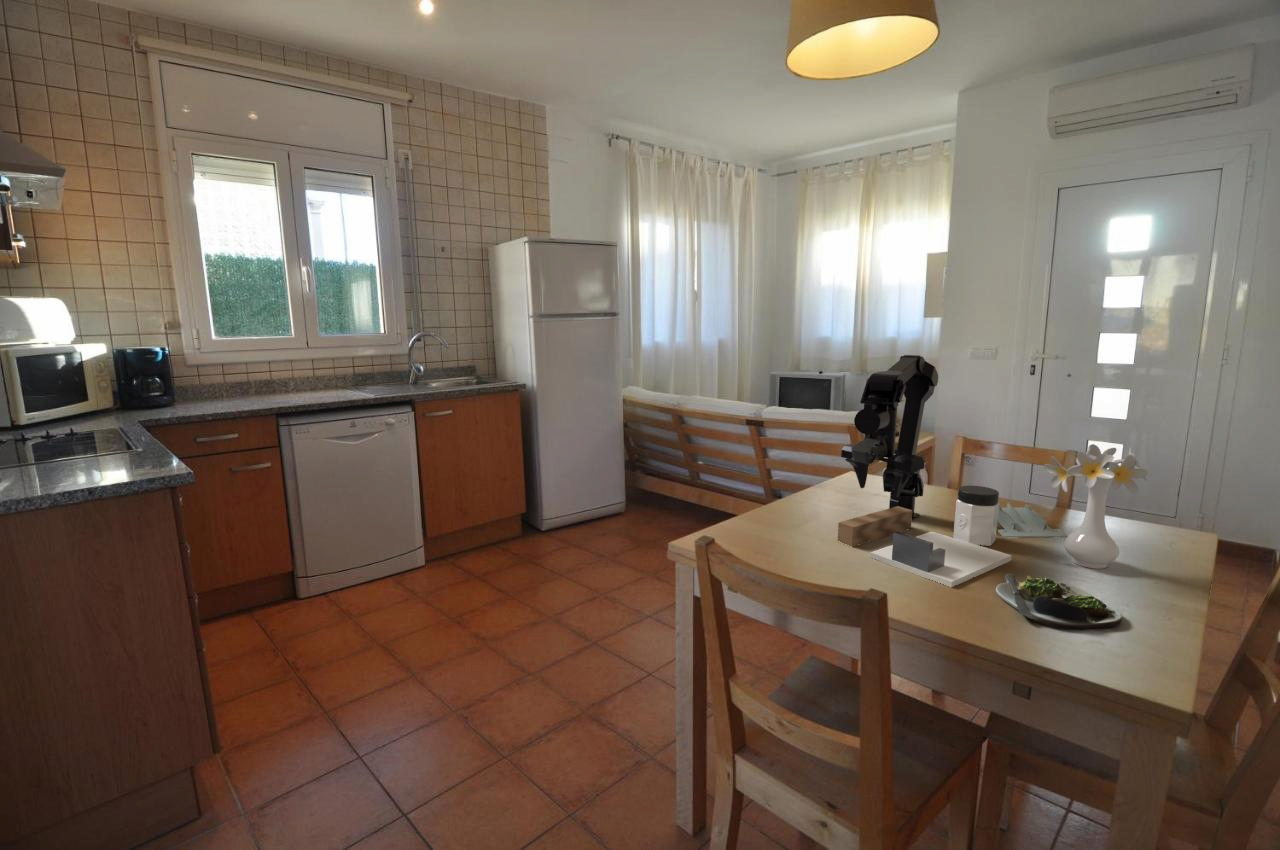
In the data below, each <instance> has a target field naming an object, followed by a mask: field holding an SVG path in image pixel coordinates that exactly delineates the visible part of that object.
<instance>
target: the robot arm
mask: <svg viewBox="0 0 1280 850" xmlns="http://www.w3.org/2000/svg"><path fill="white" fill-rule="evenodd" d="M938 382H939V373H938V372H937V368H936V367H935V366H934V365H933V364H931V363H929V362H928V361H926V360H925V358H924V356H922V355H919V354H918V355H916V354H915V355H914V354H904V355H901V356H900V357H899V360H898V361H896V363H894V364H893V365H892V366H891V367H890V368H888V369H887V370H882V371H876V372H874V373H871V374H870V375H869V377H868V378H867V379H866V383H865V386H864V388H863V393H862V395H861V398H860V404H862V405H863V408H862V409H860V410H859V411H857V412H856V414H855V416H854V420H853V421H854V426H855V428H856V430H857V431H858V432H860V433H861V434H864V438H863V440H861V441H858V443H855V442H854V443H852V444H845V445H843V446H842V448H841V451H840V457H841V458H844V461H846V462H848V463H849V464H850V465H851V466H852V468H853V469H854V472H855V475H856V478H857V481H858V485H859V488H860V489H864V488H865V487H866V484H867V478H868V473H869V467H870V465H871V464H873V463H874V462H875V461H880V462H884V463H886V468H885V469H884V471H883V474H882V483H883V492H884V493H890V495H889V496H890V497H889V505H888V509H889V508H893V507H897V506H899V507H903V508H906V509H910V510H912V519H914V518H917V517H920V513H917V512H915V510H916V509H915V507H916V498H918V497H924V490H925V489H924V487H925V486H924V485H925V484H924V483H923V479H922V478H923V477H922V475H921V474H920V473H921V470H924V469H925V459H924V458H923V456H921V455H917V449H918V442H919V439H920V433H921V425H922V420H923V414H924V410H925V405H926V402H927V401H928V400H929V399H930V398H931V397H932V396H933V395H934V392H935V388H936V387H937V385H938ZM903 396H904V398H905V401H904V409H903V411H902V412H903V414H902V418H901V424H900V429H899V430H900V431H897V416H898V407H899V403H901V401H902V399H903ZM897 437H898V440H897V448H896V438H897Z"/></svg>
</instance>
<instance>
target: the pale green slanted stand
mask: <svg viewBox="0 0 1280 850" xmlns="http://www.w3.org/2000/svg"><path fill="white" fill-rule="evenodd" d="M997 523H999V525H1000V526H1001V527H1002V528H1003V529H1001V528H1000V529H997V532H998V533H999V535H1000V536H1002V538H1004V539H1019V538H1021V537H1022V538H1025V539H1027V538H1026V537H1030V539H1031V537H1054V539H1066V538H1067V537H1068V536H1069V535H1068V534H1067V533H1066V532H1065V531H1064V530H1063V529H1061V528H1058V529H1057V528H1052V527H1050V526H1049V525H1048V521H1046V519H1044V518H1043V517H1042V516H1041V514H1039V513H1038V512H1036V511H1035V510H1034V509H1032V506H1031V505H1030V504H1025V505H1024V507H1022V506H1021V507H1012V505H1011V504H1010V503H1009V502H1008V503H1007V504H1006V507H1002V506H1001V504H999V509H998V519H997ZM1055 537H1057V538H1055ZM1059 537H1060V538H1059ZM1022 538H1021V539H1022Z"/></svg>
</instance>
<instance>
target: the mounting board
mask: <svg viewBox="0 0 1280 850" xmlns="http://www.w3.org/2000/svg"><path fill="white" fill-rule="evenodd" d="M915 537H917V538H920V539H923V540H926V541H929V542H933V550H936V549H938V548H942V549H945V561H944V566H943V567H940V568H938V569H935V570H933V571H931V572H928V573H927V572H924V571H922V570H919V569H916V568H913V567H911V566H908V565H905V564H902V563H900V562H897V561H894V560H892V549H893V544H892V545H888V546H885V547H883V548H880V549H876V550H874V551H871V552H870V557H869V558H870V559H872V558H873V559H872V560H875V559H876V561H877V562H881V563H883V564H886V565H889V566H892V567H895V568H897V569H900V570H903V571H905V572H907V573H910V574H913V575H916V576H918V577H922V578H924V579H926V578H927V580H929V579H930V581H932V580H933V581H932V582H935V581H936V582H935V583H937V582H938V584H940V583H941V584H940V585H943V584H944V585H943V586H945V585H946V587H948V586H949V588H954V587H956V586H958V585H960V584H963V583H965V582H968V581H970V580H972V579H974V578H976V577H978V576H981V575H982V574H985V573H987V572H989V571H991V570H993V569H996V568H998V567H1000V566H1004V564H1007V563H1009V562H1011V561H1012V555H1011V554H1008V553H1005V552H1002V551H999V550H995V549H991V548H988V547H986V546H980V545H975V544H972V543H969V542H965V541H962V540H959V539H955V538H953V536H952V537H951V536H948V535H945V534H941V533H938V532H935V531H932V530H931V531H929V532H926V533H923V534H920V535H917V536H915ZM973 577H974V578H973ZM955 585H956V586H955Z"/></svg>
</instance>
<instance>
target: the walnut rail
mask: <svg viewBox="0 0 1280 850" xmlns="http://www.w3.org/2000/svg"><path fill="white" fill-rule="evenodd" d="M912 520H913V518H912V510H910V509H906V508H903V507H899V506H897V507H893V508H889V507H888V508H885V509H882V510H878V511H876V512H871V513H868V514H864V515H861V516H856V517H853V518H849V519H846V520H842V521H838V527H837V542H838V541H840V542H842V543H844V544H843V545H845V544H847V545H849V546H848V547H850V546H854V547H856V546H855V545H857V546H859V545H858V544H860V545H863V544H866V543H865V542H867V543H869V542H868V541H870V542H872V540H873V541H876V540H879V539H878V538H880V539H883V538H885V537H889V536H893V534H894V532H897V531H898V532H901V531H902V532H905V531H908V530H907V529H909V530H911V529H912ZM910 528H911V529H910ZM902 532H901V533H902ZM882 537H883V538H882ZM875 539H876V540H875ZM842 543H841V544H842ZM862 543H863V544H862ZM847 545H846V546H847Z"/></svg>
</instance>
